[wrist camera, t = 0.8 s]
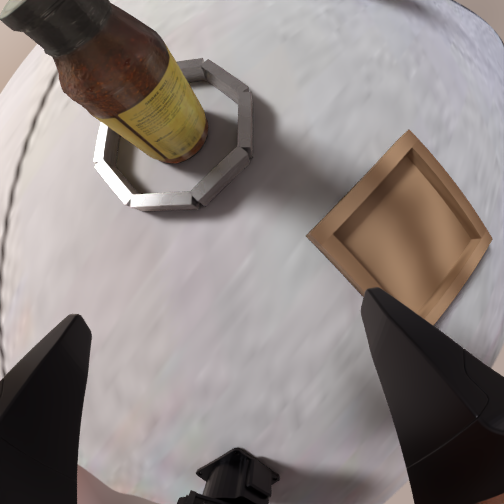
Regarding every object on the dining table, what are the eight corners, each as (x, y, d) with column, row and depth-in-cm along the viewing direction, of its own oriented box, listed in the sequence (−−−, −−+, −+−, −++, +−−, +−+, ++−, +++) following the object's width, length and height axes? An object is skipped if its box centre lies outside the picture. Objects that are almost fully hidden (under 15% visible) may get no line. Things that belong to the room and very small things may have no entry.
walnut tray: (401, 340, 22) (413, 348, 20) (305, 235, 23) (309, 233, 20) (477, 240, 22) (492, 238, 19) (398, 139, 22) (408, 129, 20)
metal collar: (169, 244, 23) (158, 243, 21) (88, 148, 24) (75, 141, 22) (286, 130, 23) (287, 117, 20) (186, 55, 24) (179, 41, 21)
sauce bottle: (212, 103, 23) (135, -83, 3) (208, 165, 23) (73, -20, 3) (147, 110, 24) (25, -27, 4) (139, 169, 24) (-36, 59, 4)
